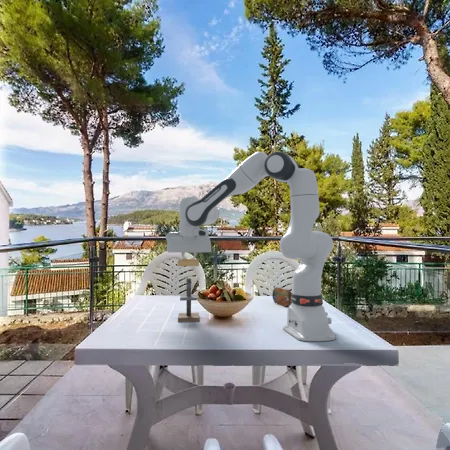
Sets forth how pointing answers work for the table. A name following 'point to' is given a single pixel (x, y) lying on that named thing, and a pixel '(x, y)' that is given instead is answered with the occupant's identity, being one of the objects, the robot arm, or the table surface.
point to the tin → (282, 296)
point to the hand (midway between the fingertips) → (189, 262)
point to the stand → (188, 304)
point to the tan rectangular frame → (188, 262)
